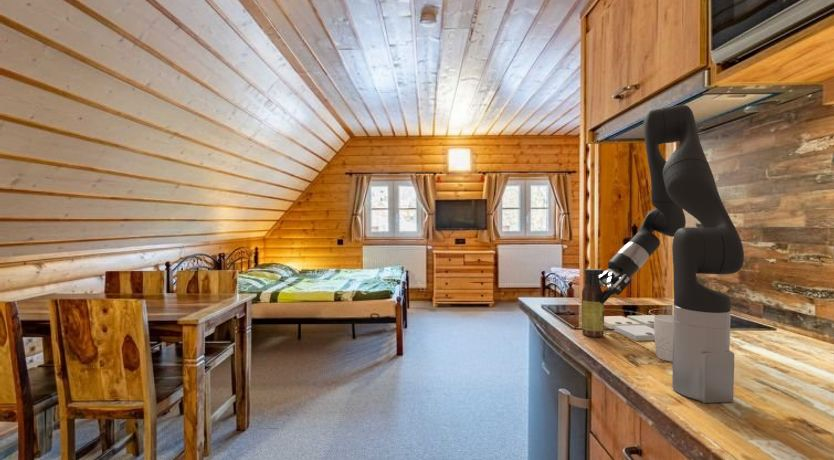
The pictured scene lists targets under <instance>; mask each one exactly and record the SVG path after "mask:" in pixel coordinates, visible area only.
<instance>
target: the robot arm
mask: <svg viewBox="0 0 834 460" xmlns="http://www.w3.org/2000/svg"><path fill="white" fill-rule="evenodd" d="M643 134H644V135H643V136H644V137H643V138H644V143H645V144H644V145H645V149H646V157H647V164H648V170H649V174H650V196H651V199H650V200H651V205H652V207H654V208H653V209H651V210H650V211H649V212H648V213H647V214H646V215H645V218H644V219H643V221H642V223H641V225H640V227H639V229H638V231H637V232H636V234H635V235H633V237H632V238H631V239H630V240H629V241H628V242H627V243H626V244H624V245H623V246H622V247H621V248H620V249H619V250H618V251H617V252H616V253H615V254H614V255H613V256H612V258H611V259H610V260H609V261H608V262H607V267H608V268H607V269H606V270H603V269H602V268H598V269H599V270H600V275H599V282H600V283H599V284H600V286H601V288H604V287H606V289H604V290H602V293H601V294H600V295H599V296H598V298H597V300H598V301H599V302H600V303H602V304H603V303H604V304H605V303H606V302H607V301H608V299H609V298H610V297H611V296H615V295H617V296H619V295H621V294H622V292H623V291H624V290H625V289H626V288H627V287H628V286H629V284H631V282H632V280H631V278H632V277H633V276H634V275H635V274H636V273H637V272H638V271H639V269H640V268H642V267H643V265H644V264H645V263H646V262H647V260H648V259H649V258H650V256H652V255H653V253H655V251H657V249H659V247H660V245H661V240H660V239H659V237H658V236H656V234H654V232H657V233H660V234H662V235H665V236H667V237H671V238H672V237H673V238H672V243H671V244H672V245H671V248H672V250H671V253H672V269H673V270H672V271H673V272H672V273H673V274H672V275H673V278H672V279H673V316H674V319H673V362H672V377H671V378H672V381H671V386H672V387H671V388H672V389H673V390H674V391H675V392H677V393H679V394H680V395H682V396H684V397H688V398H690V399H694V400H697V401H700V402H701V403H703V404H709V403H710V404H713V403H715V404H716V403H732V402H734V394H735V393H734V391H735V390H734V389H735V386H734V385H735V383H734V382H735V352H733V351H731V349H730V345H731V314H732V313H731V312H732V310H731V309H732V308H731V307H732V302H731V298H730V295H729V296H728V294H725V293H723V292H720V291H717V290H714V289H712V288H709V287H706V286H704V285H703V284H702V283H700V282H699V281H698V279H697V274H700V275H702V274H703V275H732V274H736V273H738V272H739V271H741V269H742V267H743V265H744V262H745V261H744V260H745V253H744V246H743V242H742V240H741V237H740V234H739V233H738V230H737V228H736V227H735V225H734V223H733V221H732V219H731V217H730V215H729V213H728V211H727V209H726V207H725V206H724V202H723V201H722V198H721V196H720V192H719V190H718V188H717V184H716V180H715V178H714V175H713V172H712V169H711V166H710V164H709V162H708V160H707V156H706V155H705V152H704V148H703V146H702V144H701V141H700V138H699V137H700V136H699V132H698V128H697V124H696V120H695V115H694V112H693V110H692V109H691V108H690V106H688V105H685V104H678V105H673V106H668V107H661V108H656V109H653V110H648V111H647V112H646V113H645V116H644V119H643ZM675 142H680V143H679V145H678V146H677V147H676V149H674V151H673V153H672V154H670V156H669V158H668V159H667V160H666V159H665V158H664V157H663V155H662V154H661V151H660V147H659V146H660V145H662V144H670V143H675ZM684 211H685V212H687V213H688V214H689V215H690V216H692V217H693V218H695V220H696V221H698V222H699V223H700V224H701V227H699V226H698V227H695V226H693V227H686V223H687V222H686V221H687V220H686V215H685V213H684Z"/></svg>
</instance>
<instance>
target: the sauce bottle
mask: <svg viewBox="0 0 834 460" xmlns="http://www.w3.org/2000/svg"><path fill="white" fill-rule="evenodd" d="M599 269H600V268H585V269H584V274H585V285H584V286H583V288H582V290H581V329H582V334H583V335H584V336H586V337H587V336H588V337H590V338H591V337H592V338H601V337H603V336H604V335H605V333H604V331H605V326H604V316H605V303H603V304H602V303H600V302H599V301H598V300H597V298H598V296H599V295H600V294H601V293H602V292H603V290H602V287H601V286H600V284H599V283H600V282H599V275H600V270H599Z"/></svg>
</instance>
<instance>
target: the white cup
mask: <svg viewBox="0 0 834 460" xmlns="http://www.w3.org/2000/svg"><path fill="white" fill-rule="evenodd" d="M673 319H674V315H672V314H656V315H655V316H654V328H653V329H654V335H655V340H654V346H655V356H656V357H657V358H658V359H660V360H662V361H666V362H670V363H673Z"/></svg>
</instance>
